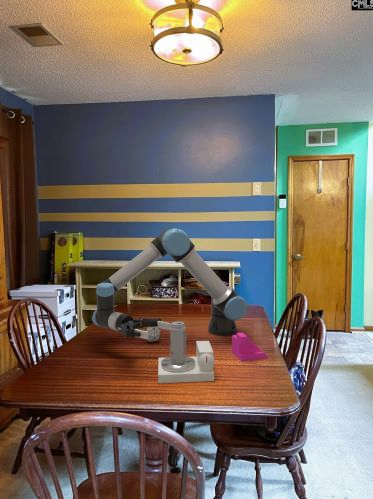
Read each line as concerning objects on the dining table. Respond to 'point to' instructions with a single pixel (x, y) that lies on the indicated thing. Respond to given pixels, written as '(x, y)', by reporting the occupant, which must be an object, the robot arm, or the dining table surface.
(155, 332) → the grey rounded lump
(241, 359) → the bracket
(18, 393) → the dining table surface
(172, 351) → the energy drink can
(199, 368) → the scale
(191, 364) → the scale pan
